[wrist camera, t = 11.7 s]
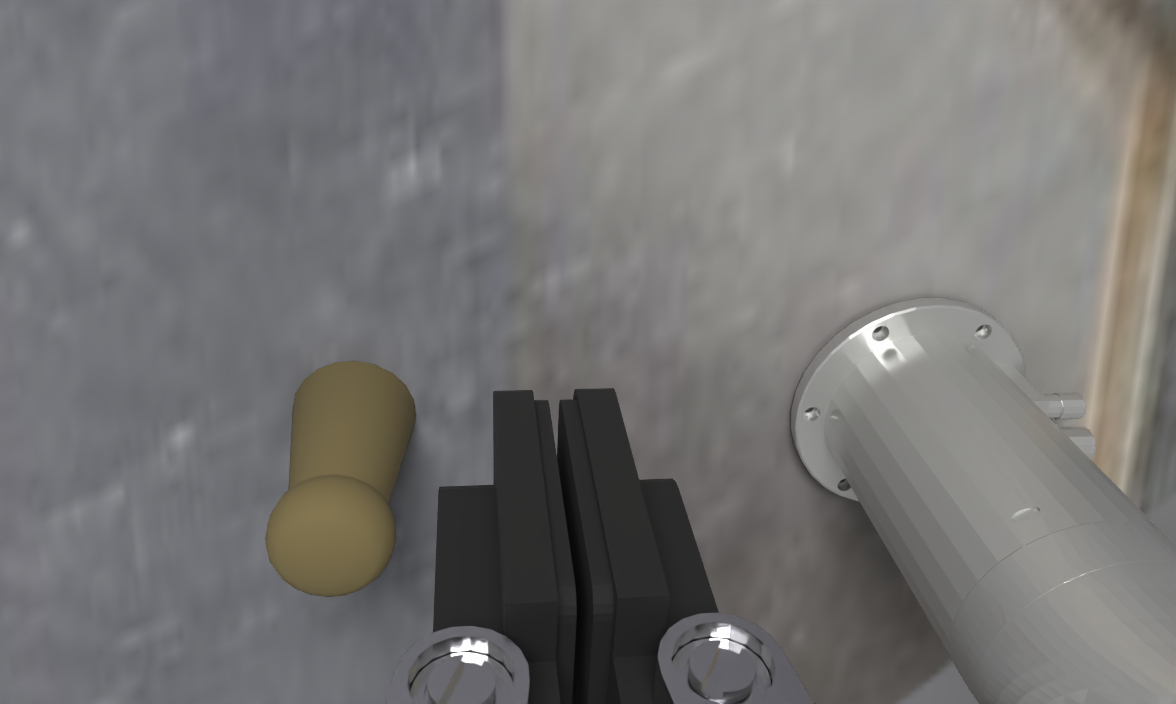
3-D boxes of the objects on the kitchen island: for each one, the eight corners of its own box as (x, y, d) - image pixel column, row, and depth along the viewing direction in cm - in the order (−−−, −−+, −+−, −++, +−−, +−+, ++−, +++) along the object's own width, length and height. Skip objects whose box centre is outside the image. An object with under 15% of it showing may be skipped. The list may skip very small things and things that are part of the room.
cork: (274, 375, 44) (223, 524, 35) (396, 349, 44) (378, 490, 35) (315, 472, 47) (278, 632, 38) (429, 447, 47) (421, 601, 38)
